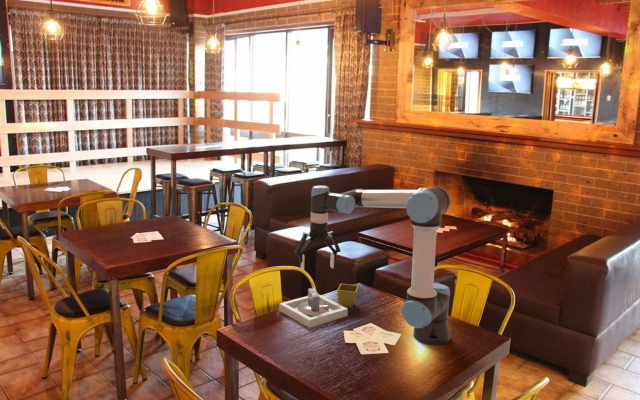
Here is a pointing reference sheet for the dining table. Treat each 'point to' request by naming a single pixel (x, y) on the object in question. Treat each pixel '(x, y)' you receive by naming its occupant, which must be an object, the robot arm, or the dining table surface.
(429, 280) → the robot arm
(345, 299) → the flower pot
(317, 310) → the dial
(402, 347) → the dining table surface
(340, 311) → the white shallow square tray
